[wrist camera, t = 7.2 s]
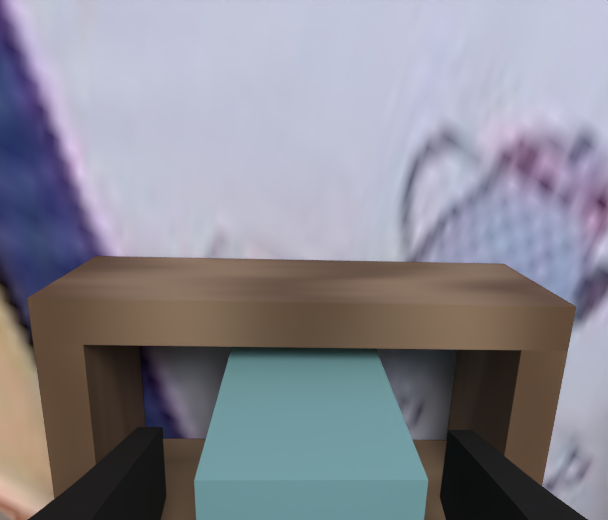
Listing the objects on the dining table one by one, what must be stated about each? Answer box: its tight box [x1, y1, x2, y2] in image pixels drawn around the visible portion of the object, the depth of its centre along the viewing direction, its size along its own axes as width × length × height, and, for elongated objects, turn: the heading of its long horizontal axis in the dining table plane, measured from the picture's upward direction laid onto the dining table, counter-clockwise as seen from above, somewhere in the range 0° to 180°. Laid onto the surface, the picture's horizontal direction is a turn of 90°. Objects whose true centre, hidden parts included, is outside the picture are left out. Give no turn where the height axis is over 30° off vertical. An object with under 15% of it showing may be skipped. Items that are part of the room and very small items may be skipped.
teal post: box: [194, 347, 428, 520], centre depth 12 cm, size 4×4×8 cm
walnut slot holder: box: [27, 256, 576, 520], centre depth 14 cm, size 13×8×4 cm, turn 89°
